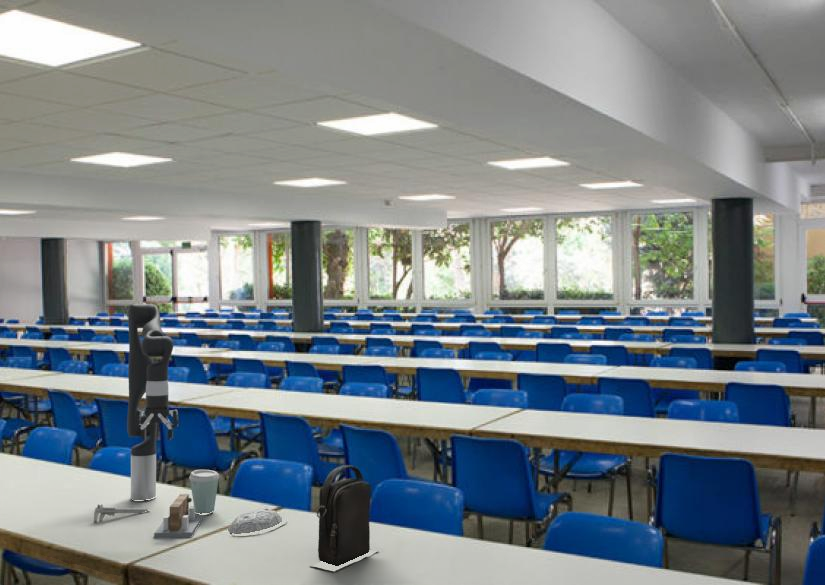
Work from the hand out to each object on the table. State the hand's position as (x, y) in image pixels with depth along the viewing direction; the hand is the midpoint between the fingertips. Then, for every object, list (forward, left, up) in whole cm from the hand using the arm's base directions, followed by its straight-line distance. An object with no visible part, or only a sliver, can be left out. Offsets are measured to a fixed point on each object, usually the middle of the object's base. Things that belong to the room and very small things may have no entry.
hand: (156, 439), depth 274 cm
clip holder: (+10, +10, -28) cm, 31 cm away
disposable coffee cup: (-8, +15, -28) cm, 33 cm away
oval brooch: (+10, +36, -29) cm, 47 cm away
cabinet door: (+10, +10, -27) cm, 30 cm away
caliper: (-5, -13, -29) cm, 32 cm away
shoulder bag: (+45, +66, -28) cm, 85 cm away
